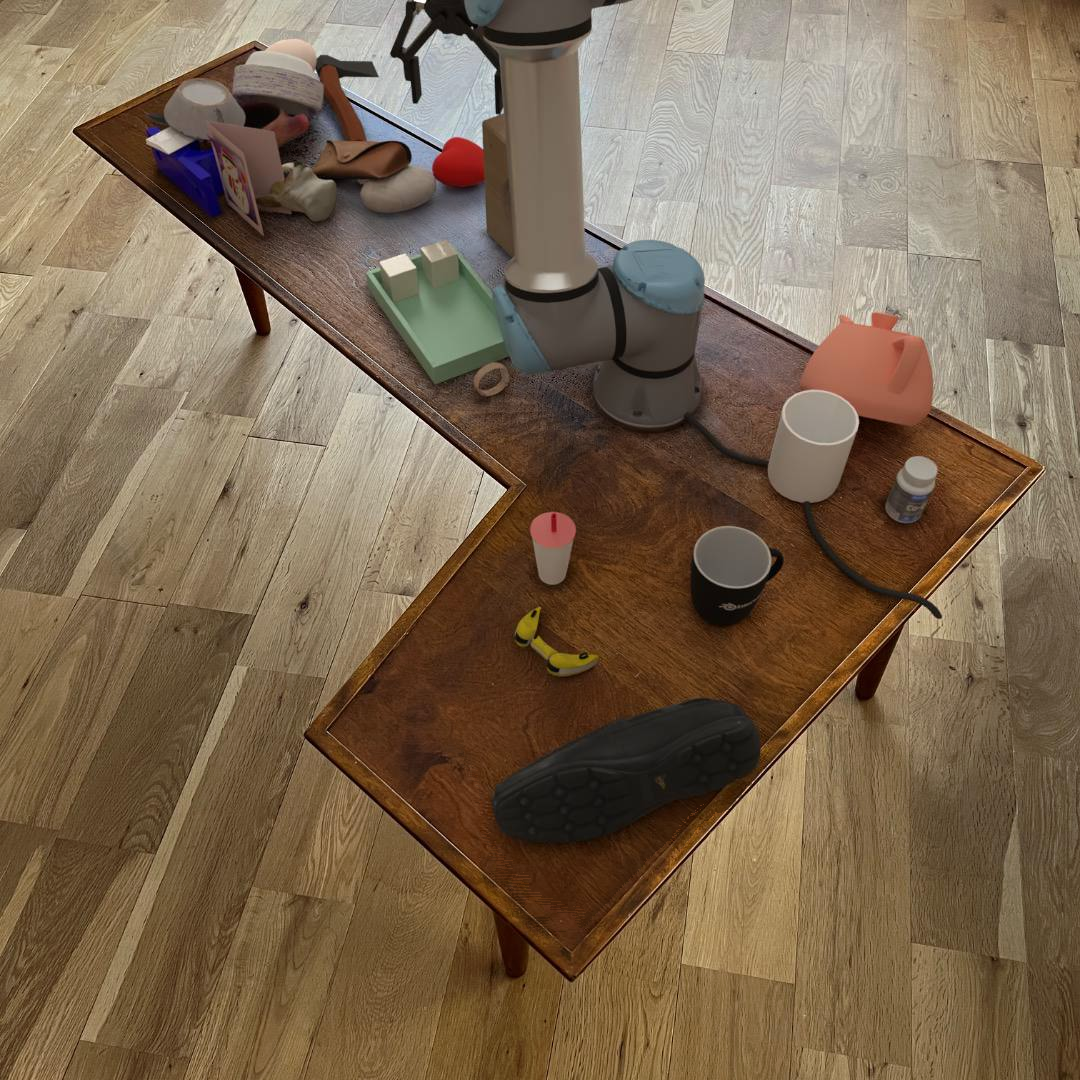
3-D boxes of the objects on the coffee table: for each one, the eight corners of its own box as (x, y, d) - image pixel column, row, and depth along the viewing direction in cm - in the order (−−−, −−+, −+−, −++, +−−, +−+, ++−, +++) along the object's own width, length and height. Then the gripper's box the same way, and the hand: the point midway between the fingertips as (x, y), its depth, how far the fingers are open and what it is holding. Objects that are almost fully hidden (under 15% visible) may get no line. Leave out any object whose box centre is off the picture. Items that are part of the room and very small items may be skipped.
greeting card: (222, 205, 180) (200, 122, 168) (261, 187, 183) (242, 105, 171) (259, 238, 175) (238, 155, 163) (298, 220, 178) (281, 137, 166)
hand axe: (409, 156, 191) (371, 70, 209) (411, 138, 189) (372, 52, 206) (342, 157, 187) (308, 69, 205) (343, 139, 185) (309, 51, 202)
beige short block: (419, 294, 166) (416, 267, 162) (393, 303, 165) (389, 277, 161) (408, 279, 168) (405, 252, 164) (382, 288, 167) (378, 261, 163)
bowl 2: (224, 183, 184) (213, 140, 177) (210, 142, 191) (198, 99, 185) (317, 162, 187) (310, 120, 181) (300, 123, 194) (292, 81, 188)
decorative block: (552, 257, 172) (553, 144, 156) (521, 270, 170) (520, 157, 155) (515, 220, 178) (513, 108, 162) (485, 232, 176) (480, 119, 160)
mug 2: (785, 513, 141) (803, 453, 132) (746, 447, 148) (760, 385, 139) (851, 495, 143) (873, 434, 133) (809, 431, 150) (827, 369, 140)
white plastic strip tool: (235, 118, 184) (234, 112, 183) (168, 155, 175) (167, 149, 174) (213, 108, 185) (212, 102, 184) (146, 144, 177) (144, 137, 176)
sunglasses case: (301, 177, 183) (303, 135, 182) (331, 183, 189) (333, 142, 187) (383, 179, 174) (385, 134, 172) (411, 184, 179) (413, 142, 178)
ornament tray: (525, 350, 160) (524, 333, 157) (434, 384, 155) (433, 367, 153) (453, 259, 172) (452, 242, 169) (368, 289, 168) (365, 272, 165)
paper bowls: (340, 76, 194) (334, 122, 195) (261, 67, 197) (256, 112, 198) (305, 48, 179) (299, 99, 180) (220, 39, 182) (215, 89, 183)
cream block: (459, 280, 168) (457, 253, 164) (433, 289, 167) (431, 262, 163) (448, 265, 170) (446, 238, 166) (422, 274, 169) (419, 247, 165)
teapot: (766, 393, 157) (789, 299, 154) (873, 415, 160) (898, 323, 157) (834, 411, 133) (863, 301, 130) (959, 438, 135) (990, 330, 133)
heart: (501, 172, 189) (446, 154, 189) (506, 143, 185) (450, 125, 185) (483, 205, 181) (425, 186, 181) (488, 175, 177) (429, 157, 177)
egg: (241, 59, 198) (292, 24, 199) (268, 102, 203) (317, 69, 205) (255, 63, 191) (308, 27, 193) (282, 108, 196) (333, 73, 198)
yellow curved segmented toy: (498, 641, 128) (506, 619, 126) (534, 622, 133) (542, 601, 131) (558, 694, 124) (567, 672, 122) (593, 673, 128) (602, 651, 126)
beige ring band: (510, 392, 154) (509, 366, 150) (480, 404, 153) (478, 378, 149) (501, 380, 156) (501, 354, 152) (471, 391, 154) (470, 366, 150)
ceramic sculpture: (313, 184, 168) (235, 159, 172) (316, 236, 174) (241, 211, 178) (353, 161, 175) (277, 137, 180) (355, 212, 181) (282, 188, 185)
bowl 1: (146, 95, 173) (148, 122, 177) (220, 125, 173) (220, 151, 177) (188, 59, 181) (189, 86, 185) (259, 87, 181) (258, 114, 185)
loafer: (506, 869, 110) (489, 816, 120) (774, 800, 115) (737, 754, 124) (490, 781, 107) (473, 733, 116) (766, 714, 111) (729, 673, 121)
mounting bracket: (145, 130, 181) (178, 116, 183) (158, 168, 187) (189, 154, 189) (200, 179, 173) (233, 165, 175) (211, 217, 178) (243, 203, 181)
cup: (561, 597, 133) (562, 538, 124) (522, 580, 135) (521, 520, 125) (581, 566, 136) (584, 506, 126) (543, 549, 138) (544, 488, 128)
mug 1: (705, 646, 129) (716, 598, 121) (670, 589, 134) (679, 539, 126) (793, 614, 132) (810, 564, 124) (756, 558, 137) (770, 508, 129)
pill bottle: (902, 530, 140) (920, 487, 133) (876, 505, 142) (893, 462, 135) (929, 514, 141) (949, 472, 134) (903, 490, 144) (921, 447, 137)
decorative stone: (372, 228, 176) (368, 202, 172) (355, 197, 181) (350, 171, 177) (446, 209, 180) (444, 182, 176) (427, 179, 184) (425, 153, 180)
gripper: (540, -35, 158) (539, 101, 175) (374, -53, 161) (390, 82, 178) (528, -9, 153) (529, 127, 170) (359, -29, 156) (376, 107, 173)
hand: (458, 104), depth 174 cm, fingers open, 13 cm apart
